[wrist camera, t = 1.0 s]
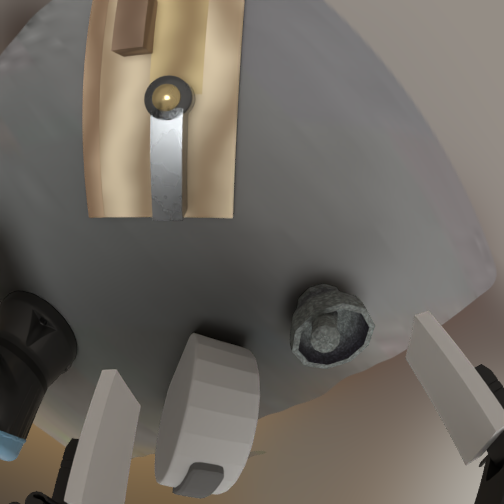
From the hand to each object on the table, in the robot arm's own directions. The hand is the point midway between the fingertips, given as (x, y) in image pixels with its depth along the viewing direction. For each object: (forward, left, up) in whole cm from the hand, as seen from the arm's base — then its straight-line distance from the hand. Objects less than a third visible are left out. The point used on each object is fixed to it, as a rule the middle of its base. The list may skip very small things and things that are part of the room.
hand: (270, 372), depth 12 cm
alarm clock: (-5, -25, -23) cm, 34 cm away
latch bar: (-7, +7, -21) cm, 23 cm away
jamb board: (-9, +12, -22) cm, 27 cm away
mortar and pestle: (+10, -12, -23) cm, 27 cm away
